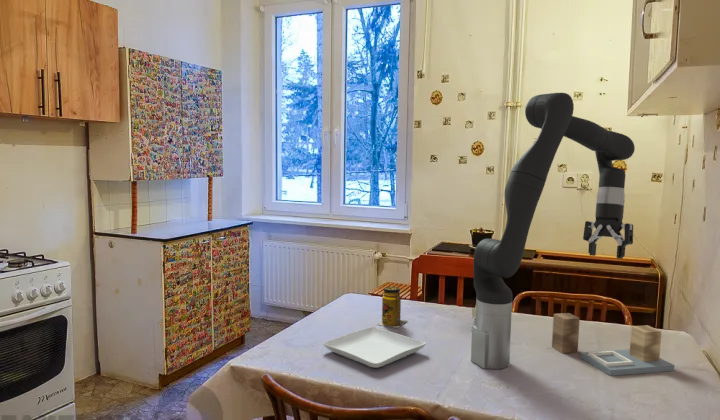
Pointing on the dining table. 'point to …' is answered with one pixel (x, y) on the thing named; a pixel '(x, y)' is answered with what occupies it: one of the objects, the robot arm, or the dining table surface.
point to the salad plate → (374, 346)
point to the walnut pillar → (565, 333)
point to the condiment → (391, 308)
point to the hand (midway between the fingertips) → (605, 257)
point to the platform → (474, 314)
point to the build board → (624, 363)
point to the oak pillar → (645, 343)
